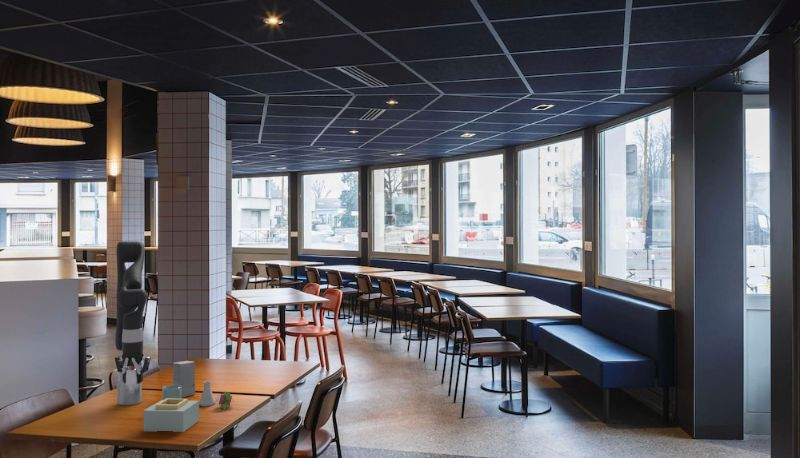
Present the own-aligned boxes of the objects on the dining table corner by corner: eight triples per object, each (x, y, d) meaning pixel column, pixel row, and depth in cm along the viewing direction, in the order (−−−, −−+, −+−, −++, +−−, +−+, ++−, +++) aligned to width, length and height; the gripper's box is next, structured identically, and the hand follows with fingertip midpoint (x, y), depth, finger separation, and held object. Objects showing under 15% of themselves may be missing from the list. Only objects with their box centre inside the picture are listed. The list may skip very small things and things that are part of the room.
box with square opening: (143, 431, 224) (143, 406, 224) (161, 419, 238) (161, 396, 238) (183, 432, 223) (183, 407, 223) (199, 420, 237) (199, 397, 237)
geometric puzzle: (229, 398, 261) (220, 386, 257) (240, 400, 257) (231, 388, 253) (219, 411, 256) (210, 399, 252) (230, 413, 252) (221, 401, 248)
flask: (210, 407, 255) (210, 384, 255) (195, 406, 256) (195, 383, 257) (218, 402, 262) (218, 380, 262) (204, 401, 264) (204, 379, 264)
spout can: (123, 393, 226) (123, 366, 226) (130, 389, 231) (130, 363, 231) (135, 393, 225) (135, 366, 225) (142, 390, 230) (142, 363, 230)
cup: (163, 413, 246) (163, 390, 246) (161, 408, 253) (161, 385, 253) (182, 410, 250) (182, 387, 250) (180, 406, 257) (180, 383, 257)
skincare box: (180, 398, 268) (179, 364, 268) (171, 396, 272) (171, 362, 273) (196, 394, 275) (196, 361, 275) (187, 392, 279) (187, 359, 279)
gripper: (109, 341, 225) (109, 385, 225) (145, 342, 224) (145, 386, 224) (120, 337, 232) (120, 380, 232) (155, 338, 231) (155, 380, 231)
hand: (132, 382), depth 228 cm, fingers closed on spout can, 5 cm apart
